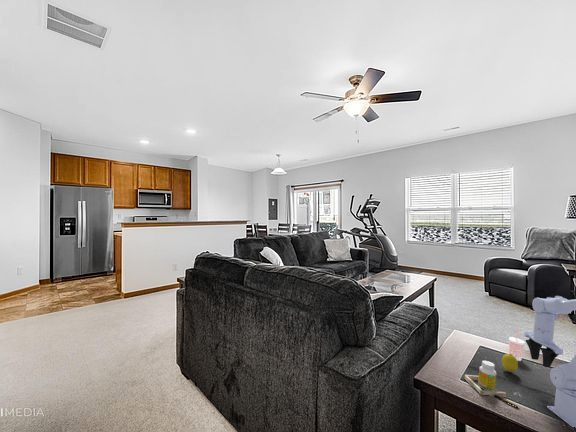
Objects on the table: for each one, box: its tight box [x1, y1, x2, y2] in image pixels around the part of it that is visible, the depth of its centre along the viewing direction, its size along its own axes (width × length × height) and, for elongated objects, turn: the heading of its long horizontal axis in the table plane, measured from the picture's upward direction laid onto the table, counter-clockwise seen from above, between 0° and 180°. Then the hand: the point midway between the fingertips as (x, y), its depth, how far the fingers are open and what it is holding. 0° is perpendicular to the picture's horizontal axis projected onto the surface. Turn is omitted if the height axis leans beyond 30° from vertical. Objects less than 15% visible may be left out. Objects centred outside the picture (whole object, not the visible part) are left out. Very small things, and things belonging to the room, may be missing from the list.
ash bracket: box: [463, 374, 507, 398], centre depth 107 cm, size 11×9×2 cm
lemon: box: [501, 353, 519, 373], centre depth 120 cm, size 6×6×8 cm
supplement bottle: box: [477, 360, 497, 391], centre depth 107 cm, size 5×5×10 cm
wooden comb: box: [481, 388, 519, 407], centre depth 102 cm, size 14×1×2 cm, turn 34°
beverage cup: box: [508, 329, 526, 362], centre depth 133 cm, size 6×6×14 cm
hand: (540, 362), depth 109 cm, fingers open, 5 cm apart
